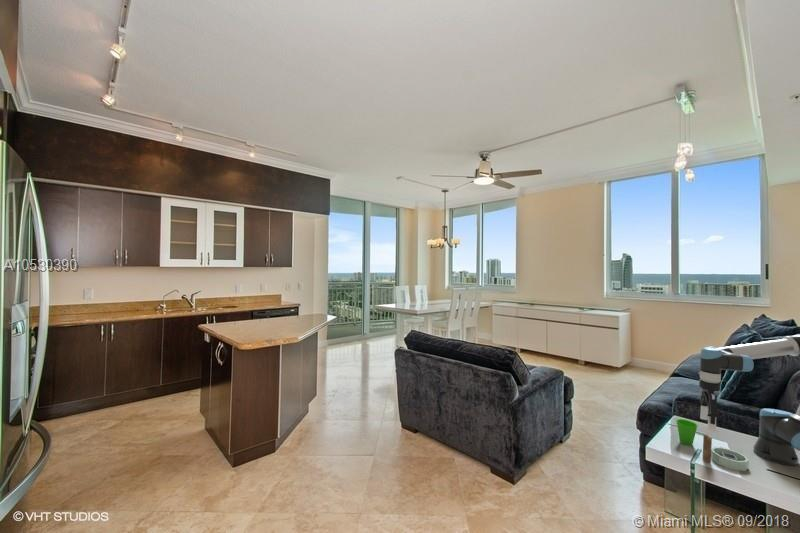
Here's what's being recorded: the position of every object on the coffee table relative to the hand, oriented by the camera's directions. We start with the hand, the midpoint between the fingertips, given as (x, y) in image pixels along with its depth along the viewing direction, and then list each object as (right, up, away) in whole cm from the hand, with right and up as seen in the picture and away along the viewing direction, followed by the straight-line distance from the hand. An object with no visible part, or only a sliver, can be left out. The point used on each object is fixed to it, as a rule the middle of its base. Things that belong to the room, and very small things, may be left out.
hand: (707, 424), depth 167 cm
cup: (+3, -18, +17) cm, 24 cm away
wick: (0, -18, 0) cm, 18 cm away
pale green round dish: (+9, -18, -1) cm, 20 cm away
